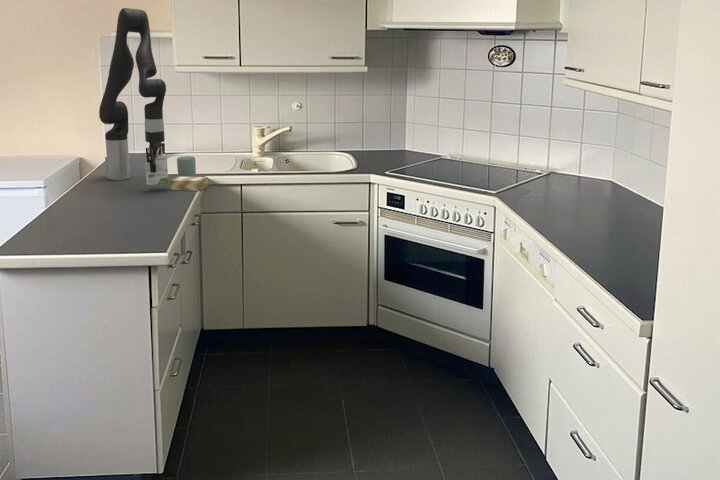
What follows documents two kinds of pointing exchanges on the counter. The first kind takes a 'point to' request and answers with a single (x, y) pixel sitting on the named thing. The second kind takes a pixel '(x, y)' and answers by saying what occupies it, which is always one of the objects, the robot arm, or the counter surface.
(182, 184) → the plinth
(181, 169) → the cup
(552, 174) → the counter surface
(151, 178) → the ink box
